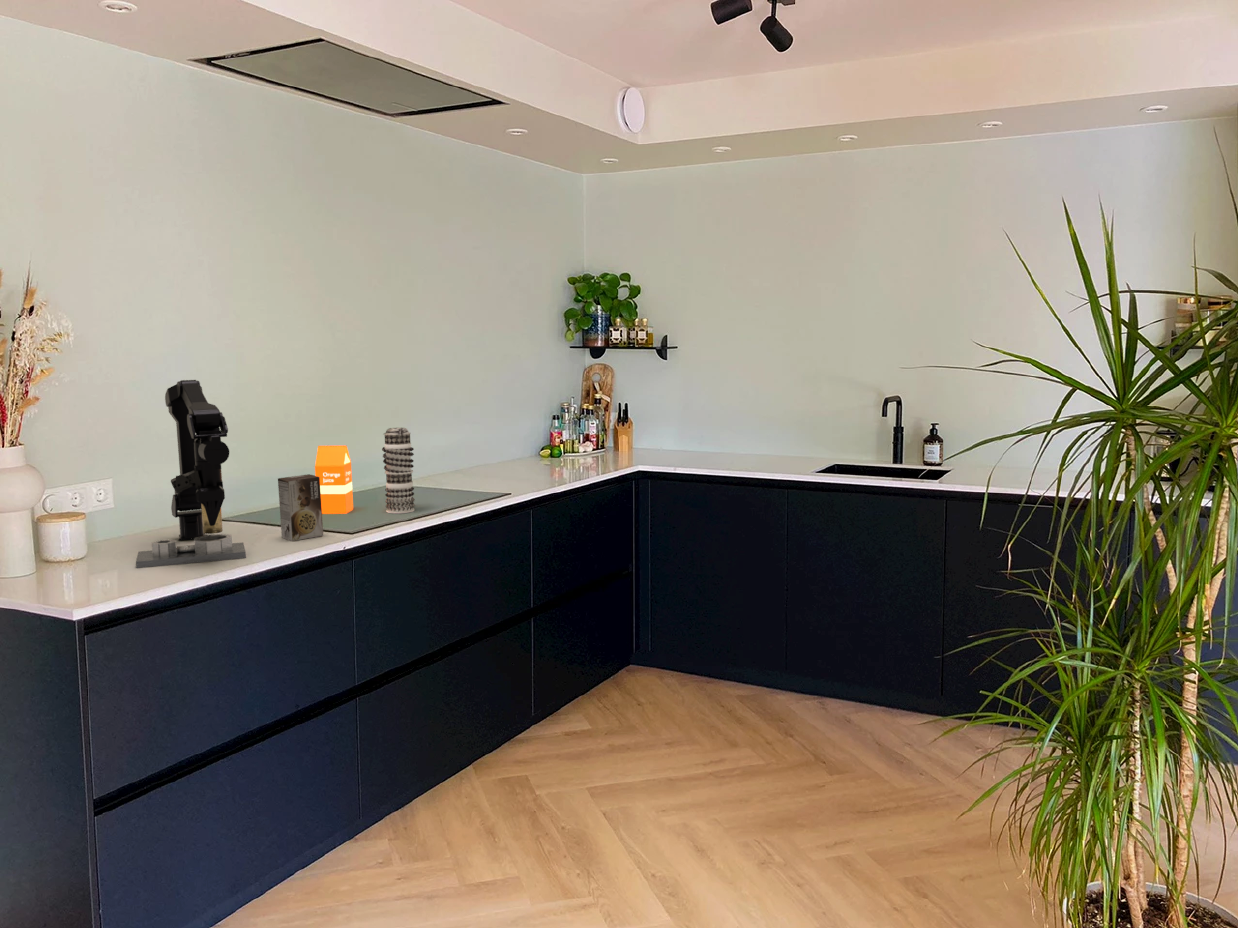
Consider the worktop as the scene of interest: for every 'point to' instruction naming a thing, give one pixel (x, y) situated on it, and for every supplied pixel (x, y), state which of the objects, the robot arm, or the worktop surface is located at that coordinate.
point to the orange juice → (334, 479)
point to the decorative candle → (398, 471)
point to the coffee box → (300, 507)
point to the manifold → (191, 551)
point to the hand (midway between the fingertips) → (212, 523)
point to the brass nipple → (206, 526)
